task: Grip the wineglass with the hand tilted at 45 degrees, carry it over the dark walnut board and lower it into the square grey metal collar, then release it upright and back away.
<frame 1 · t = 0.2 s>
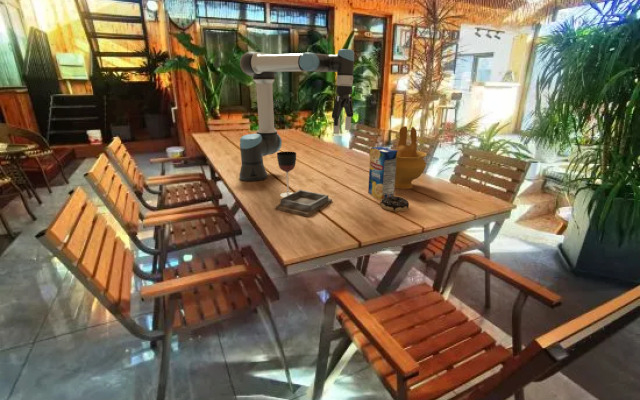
hand: (342, 131, 162), 28 cm above the table, tool pointing down, fingers open, 13 cm apart
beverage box: (380, 195, 157), on the table
decorative bowl: (402, 186, 171), on the table
donut: (394, 208, 142), on the table
wineglass: (288, 195, 157), on the table
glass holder: (304, 205, 144), on the table
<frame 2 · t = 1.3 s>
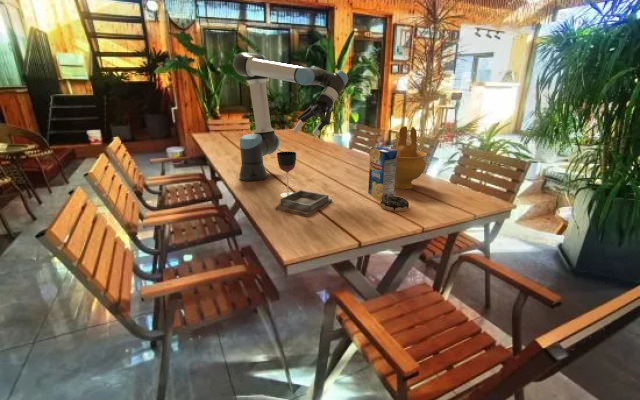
hand: (304, 133, 155), 28 cm above the table, tool tilted 45°, fingers open, 13 cm apart
nothing on the table moved.
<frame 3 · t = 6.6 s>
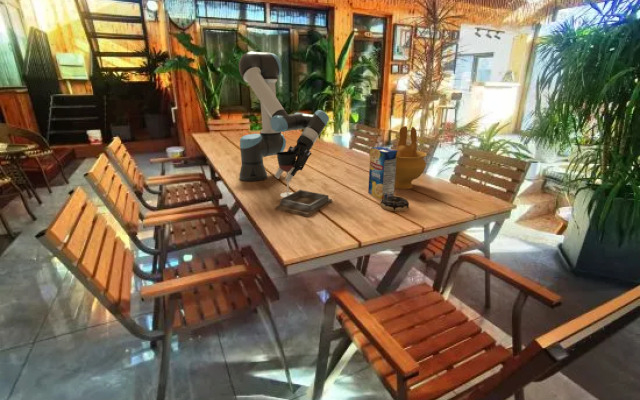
hand: (281, 179, 152), 9 cm above the table, tool tilted 45°, fingers closed on wineglass, 7 cm apart
wineglass: (288, 195, 157), on the table, touching gripper
everything else where it was.
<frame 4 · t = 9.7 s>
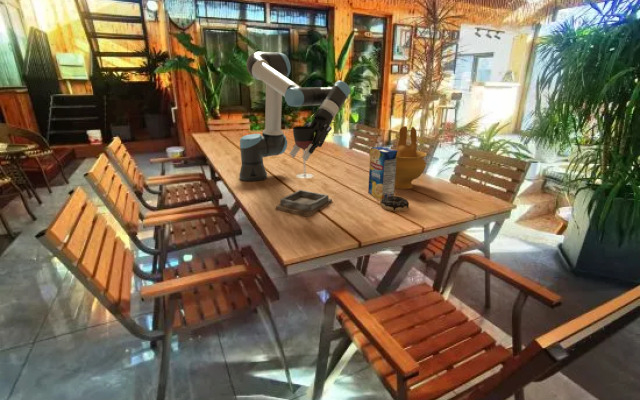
hand: (297, 157, 134), 22 cm above the table, tool tilted 45°, fingers closed on wineglass, 7 cm apart
wineglass: (304, 176, 139), point 13 cm above the table, touching gripper
everything else where it was.
when the fingers open (11 cm above the table, at t = 12.9 s): wineglass moves 1 cm, resting on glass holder.
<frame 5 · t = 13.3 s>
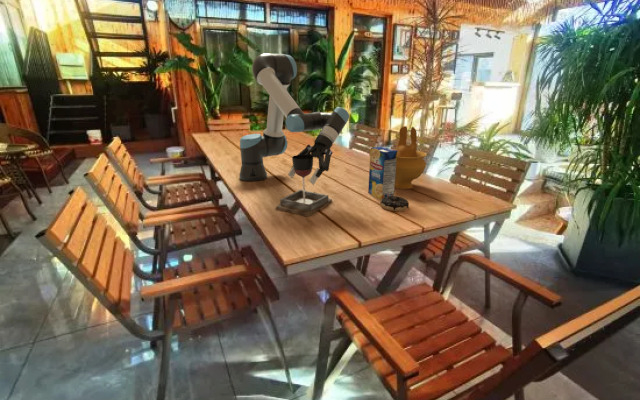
hand: (300, 179, 138), 12 cm above the table, tool tilted 45°, fingers open, 13 cm apart
wineglass: (304, 202, 144), point 1 cm above the table, touching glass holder
everything else where it was.
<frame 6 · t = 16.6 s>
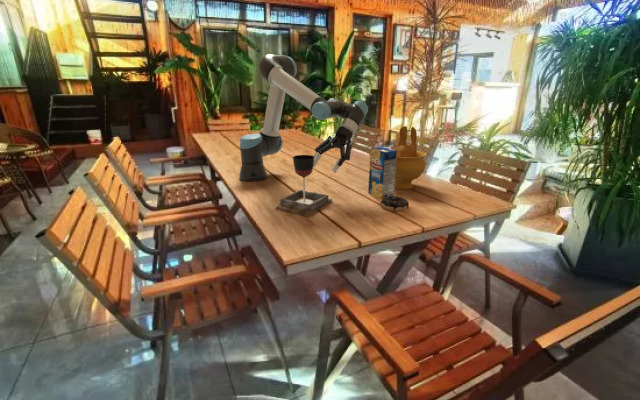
hand: (322, 168, 148), 14 cm above the table, tool tilted 45°, fingers open, 13 cm apart
nothing on the table moved.
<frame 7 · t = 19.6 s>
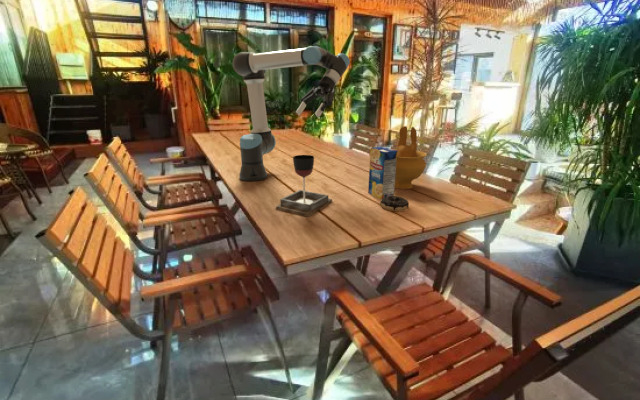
hand: (306, 114, 158), 36 cm above the table, tool tilted 45°, fingers open, 13 cm apart
nothing on the table moved.
at the end: wineglass inside the target area on the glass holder (0.8 cm from its centre), point 1.0 cm above the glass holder's base; wineglass tilted 0°; the gripper is holding nothing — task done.
